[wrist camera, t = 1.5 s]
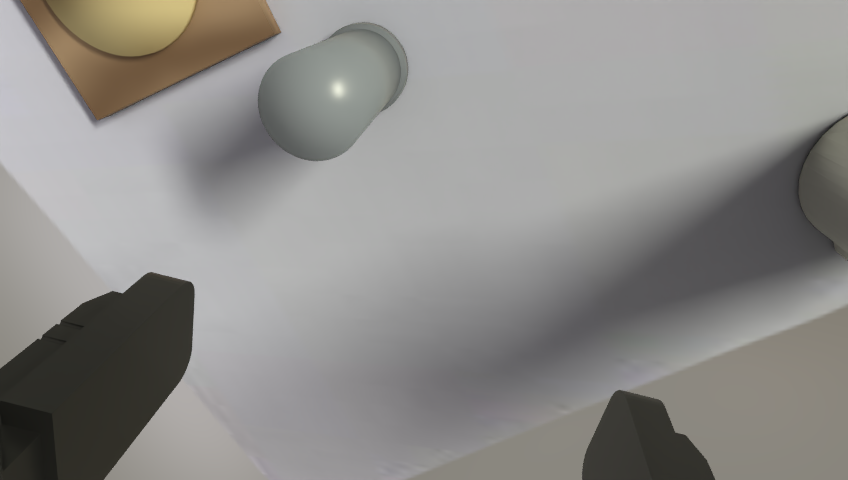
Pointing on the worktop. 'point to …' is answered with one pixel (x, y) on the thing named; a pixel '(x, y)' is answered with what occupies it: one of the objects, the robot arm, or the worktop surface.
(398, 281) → the worktop surface
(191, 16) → the post base
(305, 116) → the grey rounded cylinder
